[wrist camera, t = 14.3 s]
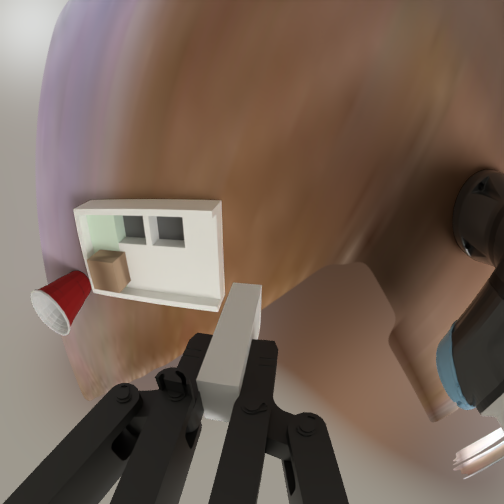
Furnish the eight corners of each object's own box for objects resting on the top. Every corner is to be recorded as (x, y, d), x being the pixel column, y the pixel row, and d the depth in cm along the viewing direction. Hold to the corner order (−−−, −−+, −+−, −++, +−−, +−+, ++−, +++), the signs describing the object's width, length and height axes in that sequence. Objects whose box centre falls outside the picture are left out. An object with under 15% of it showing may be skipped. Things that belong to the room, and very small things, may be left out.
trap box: (221, 200, 41) (212, 210, 36) (225, 293, 48) (217, 311, 43) (90, 199, 44) (73, 209, 39) (107, 279, 51) (93, 292, 46)
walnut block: (125, 251, 44) (112, 263, 40) (131, 280, 46) (119, 293, 42) (99, 249, 44) (86, 260, 41) (106, 277, 47) (94, 288, 43)
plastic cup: (62, 286, 55) (30, 316, 44) (65, 250, 50) (27, 279, 39) (97, 312, 56) (68, 346, 45) (104, 277, 51) (69, 313, 40)
